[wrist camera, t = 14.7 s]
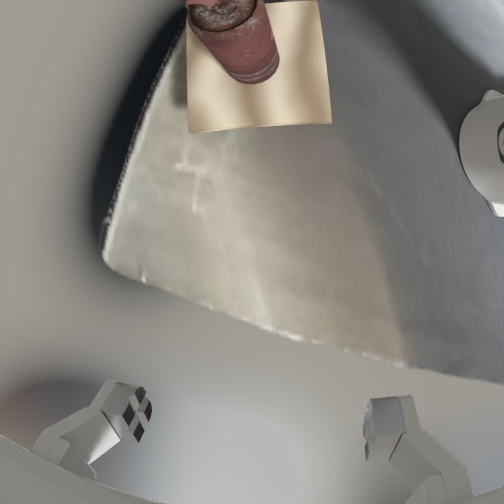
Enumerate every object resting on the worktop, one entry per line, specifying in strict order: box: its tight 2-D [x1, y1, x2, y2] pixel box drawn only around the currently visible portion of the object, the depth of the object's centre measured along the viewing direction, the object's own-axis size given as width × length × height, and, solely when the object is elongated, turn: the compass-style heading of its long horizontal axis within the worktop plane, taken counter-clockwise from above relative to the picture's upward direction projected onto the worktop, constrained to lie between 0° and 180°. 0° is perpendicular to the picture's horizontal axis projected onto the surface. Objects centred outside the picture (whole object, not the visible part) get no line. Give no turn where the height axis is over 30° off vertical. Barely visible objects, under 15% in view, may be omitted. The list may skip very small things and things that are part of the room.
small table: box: [186, 1, 332, 134], centre depth 35 cm, size 16×16×7 cm
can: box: [185, 0, 280, 84], centre depth 25 cm, size 6×6×14 cm
